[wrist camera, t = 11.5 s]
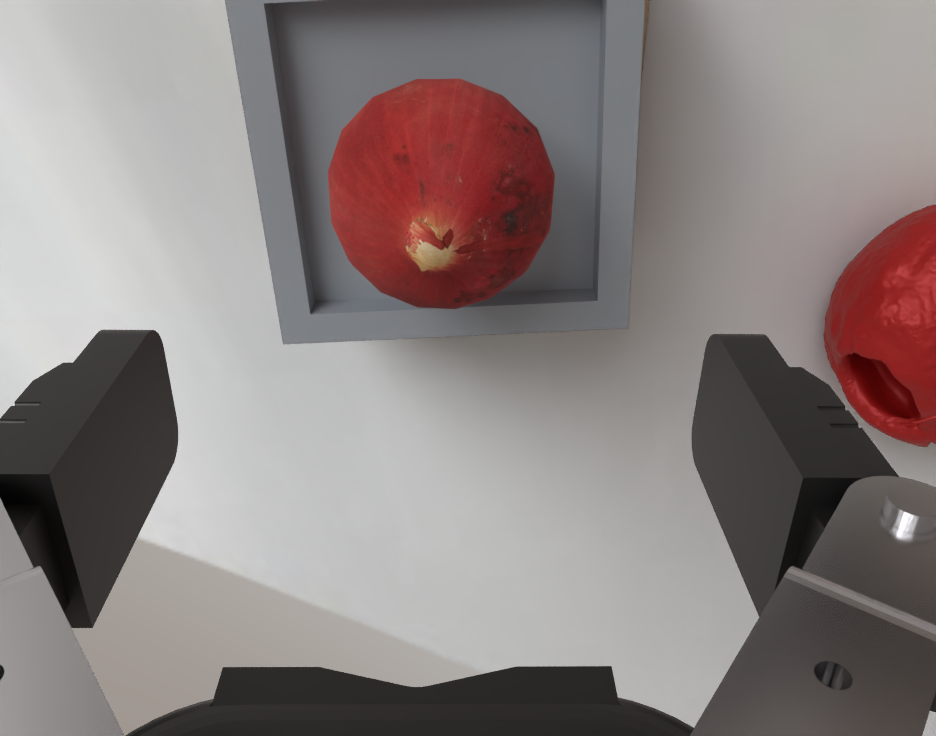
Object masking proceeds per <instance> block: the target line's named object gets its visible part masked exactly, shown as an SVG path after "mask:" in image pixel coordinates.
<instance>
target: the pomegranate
mask: <svg viewBox="0 0 936 736" xmlns="http://www.w3.org/2000/svg"><path fill="white" fill-rule="evenodd" d="M824 340H825V349H826V352H827V357H828V359H829V361H830V364H831V367H832V369H833V370H834V372H835V374H836V376H837V378H838V380H839V382H840V384H841V386H842V389H843V392H844V393H845V395H846V398H847V400H848V401H849V403H850V404H851V405H852V407H853V408H854V409H855V410H856V412H857V413H858V414H859V415H860V416H861V417H862V418H863V419H864V420H865V421H866V422H867V423H869V424H870V425H871V426H872V427H874V428H876V429H878V430H880V431H881V432H883V433H885V434H886V435H889V436H891V437H893V438H896V439H898V440H901V441H904V442H907V443H910V444H913V445H917V446H922V447H927V446H928V445H929V444H930V443H931V442H933V443H935V444H936V205H932V206H927V207H925V208H923V209H921V210H918V211H915V212H913V213H911V214H909V215H907V216H905V217H904V218H902V219H900V220H898V221H897V222H895V223H894V224H892V225H890V226H889V227H887V228H886V229H885V230H883V231H882V233H880V234H879V235H878V236H876V237H875V238H874V239H873V240H872V241H871V242H870V243H869V244H868V245H867V246H866V247H865V248H864V249H863V250H862V251H861V252H860V253H859V254H858V255H857V256H856V257H855V258H854V259H853V260H852V261H851V262H850V263H849V264H848V266H847V267H846V269H845V270H844V272H843V273H842V275H841V276H840V278H839V279H838V281H837V283H836V285H835V288H834V290H833V292H832V295H831V300H830V304H829V307H828V310H827V313H826V317H825V331H824Z"/></svg>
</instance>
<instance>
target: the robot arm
mask: <svg viewBox="0 0 936 736" xmlns="http://www.w3.org/2000/svg"><path fill="white" fill-rule="evenodd" d="M177 445H178V424H177V417H176V412H175V407H174V401H173V396H172V390H171V385H170V379H169V374H168V368H167V363H166V358H165V352H164V347H163V343H162V340H161V338H160V336H159V334H158V333H157V332H156V331H154V330H101V331H99V332H98V333H97V334H96V335H95V337H94V338H93V339H92V340H91V341H90V343H89V344H88V345H87V346H86V348H85V349H84V350H83V351H82V353H81V354H80V355H79V356H78V357H77V359H76V360H75V361H74V362H73V363H62V364H60V365H59V366H57V367H55V368H54V369H52V370H50V371H49V372H47V373H45V374H44V375H42V376H40V377H39V378H37V379H35V380H34V381H32V383H31V384H30V385H29V386H28V387H27V388H26V389H25V391H24V392H23V393H22V394H21V395H20V396H19V398H18V399H17V400H16V401H15V406H11V407H10V408H9V409H8V410H7V411H6V413H5V414H4V415H3V416H2V417H1V418H0V736H124V734H123V732H122V730H121V728H120V726H119V724H118V722H117V720H116V717H115V716H114V713H113V711H112V709H111V707H110V705H109V703H108V701H107V699H106V697H105V695H104V693H103V691H102V689H101V687H100V685H99V683H98V681H97V679H96V677H95V675H94V673H93V671H92V669H91V667H90V665H89V663H88V661H87V659H86V657H85V655H84V653H83V651H82V648H81V646H80V644H79V642H78V640H77V638H76V636H75V634H74V633H73V630H72V628H93V626H94V623H95V622H96V620H97V617H98V616H99V614H100V612H101V610H102V607H103V605H104V603H105V601H106V599H107V597H108V595H109V593H110V591H111V589H112V587H113V585H114V583H115V581H116V579H117V577H118V575H119V573H120V571H121V569H122V567H123V565H124V563H125V561H126V559H127V557H128V555H129V553H130V551H131V549H132V547H133V544H134V543H135V541H136V538H137V536H138V534H139V532H140V530H141V528H142V526H143V524H144V522H145V520H146V518H147V516H148V514H149V512H150V510H151V508H152V506H153V504H154V502H155V500H156V498H157V496H158V494H159V492H160V490H161V488H162V486H163V484H164V482H165V480H166V478H167V476H168V474H169V472H170V469H171V467H172V465H173V463H174V460H175V457H176V452H177ZM692 451H693V458H694V462H695V466H696V468H697V471H698V473H699V475H700V478H701V480H702V482H703V485H704V487H705V490H706V492H707V494H708V497H709V499H710V501H711V504H712V506H713V508H714V511H715V513H716V516H717V518H718V520H719V523H720V525H721V527H722V530H723V532H724V534H725V537H726V539H727V542H728V544H729V546H730V549H731V551H732V553H733V556H734V558H735V561H736V563H737V565H738V568H739V570H740V572H741V575H742V577H743V579H744V582H745V584H746V587H747V589H748V591H749V594H750V596H751V598H752V601H753V603H754V605H755V608H756V610H757V613H758V615H759V619H758V621H757V622H756V624H755V626H754V627H753V629H752V631H751V633H750V634H749V636H748V638H747V639H746V641H745V643H744V644H743V646H742V648H741V649H740V651H739V653H738V655H737V656H736V658H735V660H734V661H733V663H732V665H731V666H730V668H729V670H728V672H727V673H726V675H725V677H724V678H723V680H722V682H721V683H720V685H719V687H718V689H717V690H716V692H715V694H714V695H713V697H712V699H711V700H710V702H709V704H708V705H707V707H706V709H705V711H704V712H703V714H702V716H701V717H700V719H699V721H698V722H697V724H696V726H695V728H693V727H691V726H689V725H688V724H686V723H684V722H682V721H681V720H679V719H677V718H675V717H673V716H670V715H668V714H666V713H664V712H661V711H659V710H657V709H655V708H652V707H649V706H646V705H643V704H640V703H637V702H634V701H630V700H626V699H622V698H618V697H617V692H616V687H615V682H614V677H613V672H612V667H611V666H578V667H513V668H508V669H504V670H499V671H494V672H490V673H485V674H481V675H476V676H472V677H467V678H463V679H458V680H454V681H449V682H445V683H440V684H435V685H431V686H426V687H408V686H403V685H398V684H394V683H389V682H384V681H380V680H376V679H371V678H366V677H362V676H357V675H353V674H348V673H344V672H339V671H334V670H330V669H325V668H321V667H223V669H222V672H221V676H220V679H219V683H218V686H217V689H216V693H215V696H214V699H212V700H208V701H203V702H199V703H196V704H193V705H190V706H187V707H184V708H181V709H178V710H175V711H173V712H170V713H168V714H166V715H163V716H161V717H159V718H157V719H154V720H152V721H151V722H149V723H147V724H145V725H143V726H141V727H140V728H137V729H136V730H134V731H132V732H131V733H129V734H128V735H126V736H922V734H923V731H924V727H925V724H926V721H927V718H928V714H929V711H933V712H936V488H935V487H933V486H930V485H928V484H925V483H922V482H919V481H915V480H912V479H907V478H902V477H899V476H898V475H897V474H896V472H895V471H894V470H893V468H892V467H891V466H890V464H889V463H888V462H887V460H886V459H885V458H884V457H883V455H882V454H881V453H880V451H879V450H878V449H877V447H876V446H875V445H874V443H873V442H872V441H871V440H870V438H869V437H868V436H867V434H866V433H865V432H864V430H863V429H862V428H858V423H857V421H856V420H855V419H854V417H853V416H852V415H851V413H850V412H849V411H845V405H844V404H843V403H842V402H841V400H840V399H839V398H838V396H837V395H836V394H835V392H834V391H833V390H832V388H831V387H830V386H829V385H828V384H826V383H825V382H823V381H821V380H820V379H818V378H817V377H815V376H814V375H812V374H811V373H809V372H808V371H806V370H805V369H803V368H801V367H789V366H788V365H787V364H786V362H785V361H784V359H783V358H782V357H781V355H780V354H779V352H778V351H777V350H776V348H775V347H774V345H773V344H772V343H771V341H770V340H769V338H768V337H767V336H766V335H763V334H713V335H712V336H711V337H710V338H709V340H708V342H707V345H706V349H705V354H704V360H703V366H702V372H701V378H700V384H699V390H698V395H697V401H696V407H695V413H694V419H693V426H692Z"/></svg>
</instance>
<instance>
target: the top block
mask: <svg viewBox="0 0 936 736" xmlns="http://www.w3.org/2000/svg"><path fill="white" fill-rule="evenodd" d="M225 4H226V10H227V15H228V21H229V27H230V33H231V39H232V45H233V51H234V57H235V63H236V69H237V74H238V80H239V86H240V92H241V98H242V104H243V110H244V116H245V122H246V128H247V133H248V139H249V145H250V151H251V157H252V163H253V169H254V175H255V181H256V187H257V193H258V198H259V204H260V210H261V216H262V222H263V228H264V234H265V240H266V246H267V252H268V257H269V263H270V269H271V275H272V281H273V287H274V293H275V299H276V305H277V311H278V316H279V322H280V328H281V334H282V340H283V344H301V343H323V342H344V341H366V340H387V339H409V338H430V337H451V336H473V335H494V334H516V333H537V332H559V331H580V330H602V329H623V328H628V323H629V303H630V283H631V264H632V244H633V224H634V204H635V185H636V165H637V145H638V125H639V106H640V86H641V66H642V47H643V27H644V7H645V0H225ZM458 78H460V79H463V80H465V81H468V82H470V83H473V84H475V85H478V86H480V87H483V88H486V89H488V90H491V91H493V92H496V93H498V94H501V95H503V96H504V97H505V98H506V99H507V100H508V101H509V102H510V103H511V104H512V105H513V106H515V107H516V108H517V109H518V110H519V111H520V112H521V113H522V114H523V115H524V116H525V117H526V118H527V119H528V120H529V121H530V122H531V123H532V124H533V125H534V126H536V127H537V129H538V131H539V134H540V136H541V139H542V142H543V144H544V147H545V149H546V152H547V155H548V157H549V160H550V163H551V165H552V168H553V170H554V173H555V181H554V193H553V205H552V217H551V225H550V231H549V233H548V234H547V236H546V238H545V240H544V241H543V243H542V245H541V247H540V249H539V250H538V252H537V254H536V256H535V257H534V259H533V261H532V263H531V265H530V266H529V268H528V270H527V271H526V272H525V273H524V274H523V275H521V276H520V277H519V278H517V279H516V280H515V281H513V282H512V283H511V284H509V285H508V286H507V287H505V288H504V289H503V290H501V291H500V292H499V293H497V294H496V295H494V296H493V297H492V298H490V299H487V300H483V301H480V302H477V303H474V304H471V305H467V306H464V307H461V308H458V309H440V308H418V307H415V306H413V305H410V304H408V303H405V302H403V301H400V300H398V299H396V298H393V297H391V296H388V295H386V294H383V293H381V292H380V291H379V290H378V289H377V288H376V287H375V286H374V285H373V284H372V283H371V282H369V281H368V280H367V279H366V278H365V277H364V276H363V275H362V274H361V273H360V272H359V271H358V270H357V269H356V268H355V267H354V266H353V265H352V264H351V263H350V261H349V260H348V258H347V256H346V254H345V252H344V249H343V247H342V245H341V243H340V241H339V239H338V236H337V234H336V232H335V230H334V228H333V225H332V223H331V213H330V198H329V183H328V170H329V167H330V164H331V161H332V158H333V155H334V152H335V149H336V146H337V143H338V140H339V136H340V133H341V130H342V129H343V128H344V127H345V126H346V125H347V124H348V123H349V122H350V121H351V120H352V119H353V118H354V116H355V115H356V114H357V113H358V112H359V111H360V110H361V109H362V108H363V107H364V106H365V105H366V103H367V102H368V101H369V100H370V99H371V98H372V97H374V96H376V95H379V94H381V93H384V92H386V91H388V90H391V89H393V88H396V87H398V86H401V85H403V84H405V83H408V82H410V81H413V80H415V79H458Z"/></svg>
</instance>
